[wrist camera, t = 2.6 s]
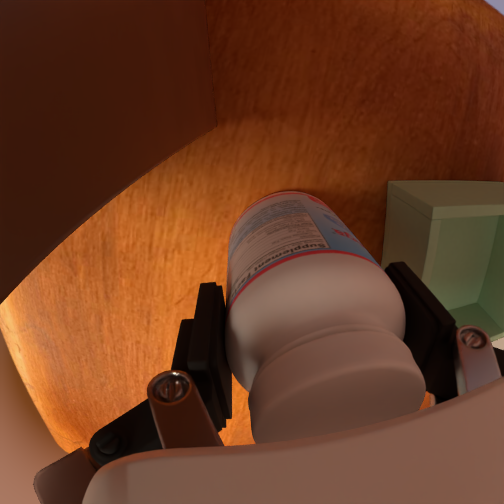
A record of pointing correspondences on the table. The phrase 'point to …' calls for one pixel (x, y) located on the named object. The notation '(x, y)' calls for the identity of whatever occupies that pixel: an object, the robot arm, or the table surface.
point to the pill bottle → (313, 324)
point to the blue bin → (90, 110)
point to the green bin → (452, 245)
